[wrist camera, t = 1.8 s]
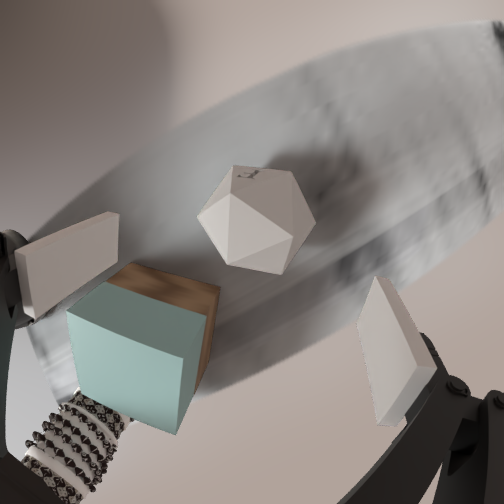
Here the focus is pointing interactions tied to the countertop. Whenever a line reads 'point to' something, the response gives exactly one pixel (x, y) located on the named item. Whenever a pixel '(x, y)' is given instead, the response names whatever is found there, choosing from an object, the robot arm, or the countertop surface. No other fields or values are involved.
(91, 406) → the decorative candle
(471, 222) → the countertop surface
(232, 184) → the die
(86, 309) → the tower top
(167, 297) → the tower base
